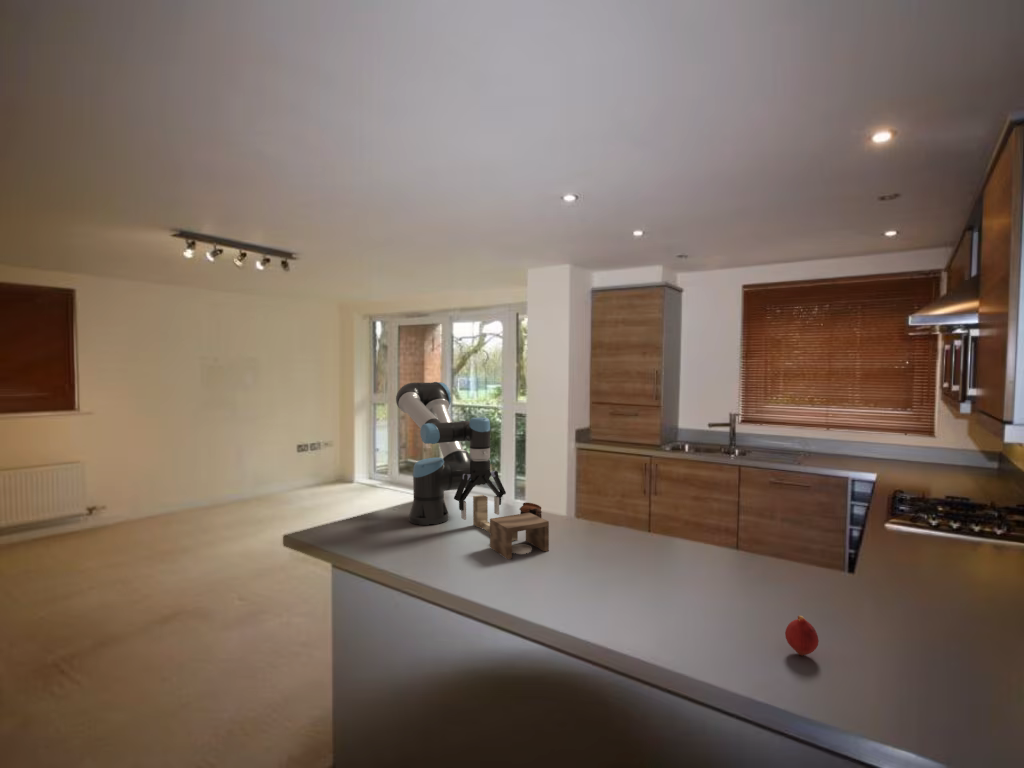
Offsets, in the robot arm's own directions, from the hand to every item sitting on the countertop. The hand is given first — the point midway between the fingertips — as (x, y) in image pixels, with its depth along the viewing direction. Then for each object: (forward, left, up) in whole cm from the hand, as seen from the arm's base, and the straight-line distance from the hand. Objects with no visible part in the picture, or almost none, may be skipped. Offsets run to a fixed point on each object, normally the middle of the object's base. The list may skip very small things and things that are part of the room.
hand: (480, 516), depth 192 cm
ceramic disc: (+30, 0, -4) cm, 30 cm away
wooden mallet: (+9, 0, -4) cm, 10 cm away
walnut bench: (+29, 0, -4) cm, 29 cm away
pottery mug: (+5, +19, -4) cm, 20 cm away
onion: (+111, +19, -4) cm, 113 cm away
